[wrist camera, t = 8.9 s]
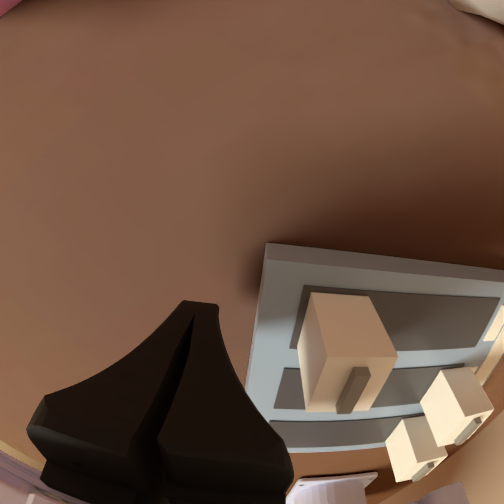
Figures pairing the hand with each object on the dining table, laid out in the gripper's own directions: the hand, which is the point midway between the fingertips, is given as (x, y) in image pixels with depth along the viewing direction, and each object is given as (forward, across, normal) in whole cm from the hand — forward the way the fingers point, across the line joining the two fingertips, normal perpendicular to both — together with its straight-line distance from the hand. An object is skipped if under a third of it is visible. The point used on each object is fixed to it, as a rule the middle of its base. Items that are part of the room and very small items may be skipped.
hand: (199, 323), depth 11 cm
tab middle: (+1, -14, +4) cm, 15 cm away
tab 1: (+1, -5, 0) cm, 5 cm away
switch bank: (+2, -10, +4) cm, 11 cm away
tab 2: (+1, -13, +9) cm, 16 cm away
